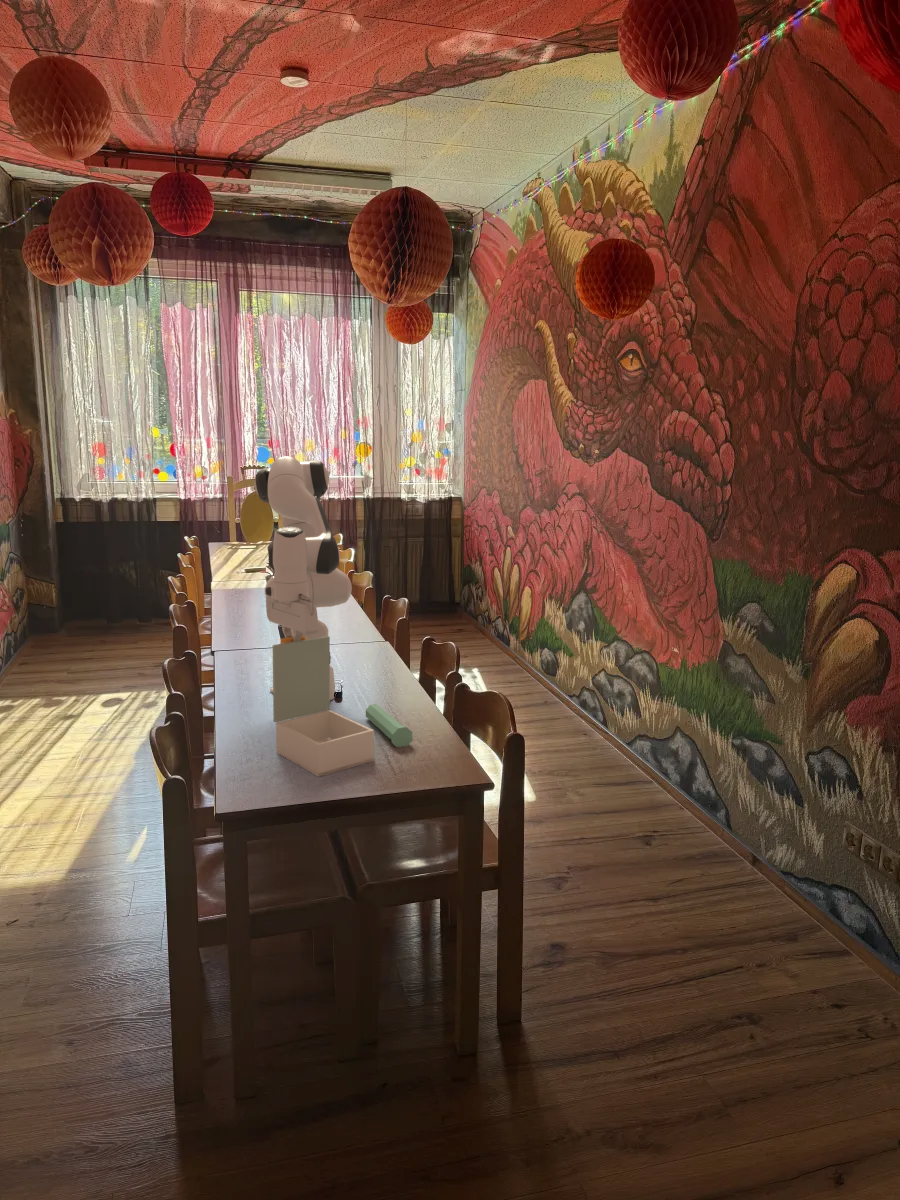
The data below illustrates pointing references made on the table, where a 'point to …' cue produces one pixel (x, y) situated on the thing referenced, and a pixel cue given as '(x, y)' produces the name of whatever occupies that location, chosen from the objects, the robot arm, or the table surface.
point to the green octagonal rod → (389, 726)
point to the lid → (300, 677)
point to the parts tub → (325, 742)
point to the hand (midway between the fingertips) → (292, 644)
